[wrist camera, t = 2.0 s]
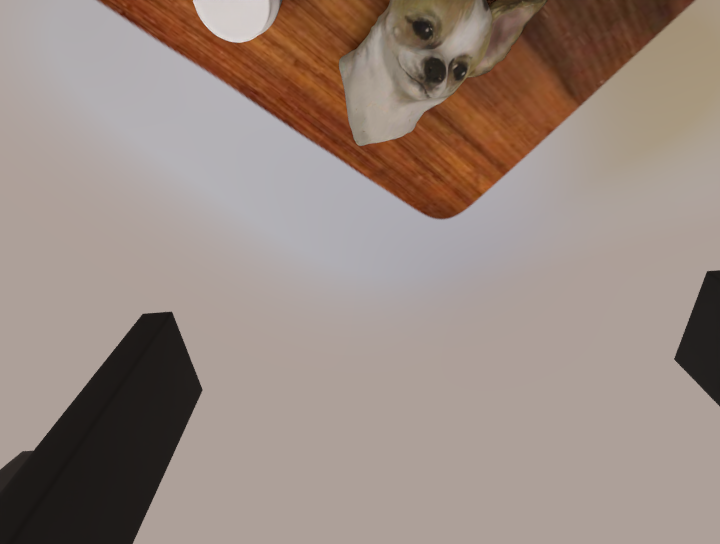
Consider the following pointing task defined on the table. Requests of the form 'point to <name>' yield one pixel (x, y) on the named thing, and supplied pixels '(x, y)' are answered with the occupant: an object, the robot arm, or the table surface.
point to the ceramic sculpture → (424, 59)
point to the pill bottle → (237, 17)
